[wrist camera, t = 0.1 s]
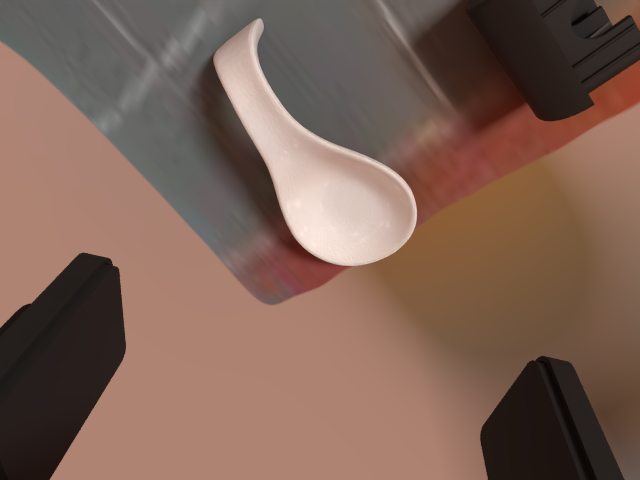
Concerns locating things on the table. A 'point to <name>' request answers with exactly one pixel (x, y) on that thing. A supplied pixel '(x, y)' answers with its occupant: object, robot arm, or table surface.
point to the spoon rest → (316, 170)
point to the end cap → (556, 49)
